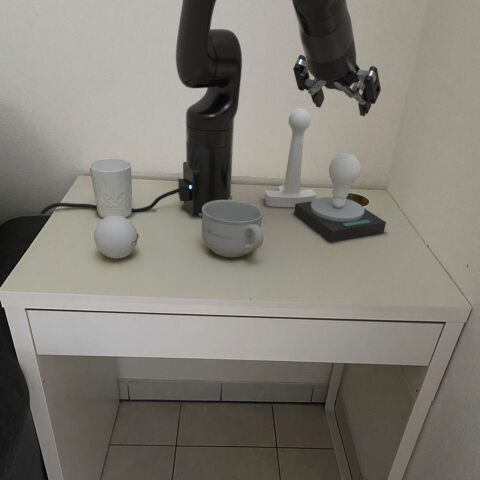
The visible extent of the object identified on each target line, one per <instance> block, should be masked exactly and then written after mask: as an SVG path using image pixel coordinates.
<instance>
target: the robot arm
mask: <svg viewBox="0 0 480 480" xmlns="http://www.w3.org/2000/svg"><path fill="white" fill-rule="evenodd" d="M216 4H217V0H182V3H181V10H180V17H179V24H178V29H177V37H176V44H175V67H176V72H177V76H178V78H179V80H180V82H181V84H182V85H183V86H185V87H186V88H189V89H206V91H205V93H204V95H203V96H202V97H201V98H199V100H197V101H196V102H194V103H193V104H192V105H190V106H189V107H188V108H187V109H186V112H185V153H186V155H185V158H186V161H183V163H182V178H178V179H177V186H178V188H176V189H172V190H170V191H167V192H165V193H163V194H161V195H159V196H157V197H156V198H155V199H154V200H153V201H152V202H151V203H150V204H149V205H147V206H144V207H140V208H139V207H138V208H132V212H131V213H141V212H142V213H143V212H146V211H150V210H151V209H153V208H154V207H155V206H156V205H157V204H158V203H159V202H160V201H161V200H163V199H165V198H167V197H170V196H172V195H176V194H178V197H179V198H178V199H179V202H183V207H184V208H185V209H186V211H187V212H188V213H189V214H190V215H191V217H193V218H196V217H200V218H202V207H203V205H205V204H206V203H208V202H211V201H216V200H233V195H232V175H233V174H232V173H233V172H232V171H233V153H234V152H233V150H234V149H233V148H234V127H235V118H236V115H237V113H238V110H239V102H240V92H241V91H240V90H241V81H242V70H243V55H242V48H241V44H240V41H239V38H238V37H237V34H235V33H234V32H233V31H232V30H230V29H226V28H211V25H212V20H213V15H214V10H215V6H216ZM291 4H292V7H293V11H294V14H295V17H296V18H295V19H296V21H297V25H298V32H299V39H300V43H301V46H302V49H303V53H304V55H303V54H299V55H298V57H297V59H296V61H295V63H294V66H293V68H292V69H293V75H294V76H295V77H294V78H295V82H296V86H297V89H298V90H299V91H301V92H304V91H305V90H306V91H307V94H308V95H310V97H311V100H312V103H313V104H314V105H315V108H319V109H320V108H322V106H323V103H324V101H325V95H324V89H323V87H325V88H326V89H328V90H337V91H339V92H343V93H344V94H345V95H346V96H347V97H348V98H350V99H352V98H353V99H354V100H355V101H356V102H357V104H358V111H359V116H360V117H365V116H366V115H368V114H369V113H370V110H371V107H372V105H375V104H376V102H377V100H378V98H379V96H380V94H381V92H382V87H381V83H380V78H379V77H380V76H379V71H378V68H377V67H376V66H374V65H371V66H370V67H369V68H368V69H367V70H366V69H361V68H360V66H359V65H358V64H357V51H356V44H355V37H354V29H353V24H352V19H351V14H350V12H349V8H348V3H347V0H291ZM310 75H312V77H314V78H313V79H311V78H310ZM351 87H352V88H351ZM360 91H361V93H360ZM59 207H60V208H61V207H63V208H65V207H67V208H86V209H87V208H88V209H92V210H93V209H94V210H97V204H91V203H74V202H73V203H72V202H55V203H52V204H49V205H47V206H45V207H44V208H42V210H41V211H40V212H39V214H40V215H45V214H46V213H47V212H48V211H50V210H51V209H55V208H59Z"/></svg>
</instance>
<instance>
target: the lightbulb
mask: <svg viewBox="0 0 480 480" xmlns="http://www.w3.org/2000/svg"><path fill="white" fill-rule="evenodd" d="M361 169H362V167H361V163H360V161H359V158H357V156H355V154H352V153H350V152H343V153H339V154H337V155H336V156H335V157H334V158H333V159H331V161H330V164H329V166H328V175H329V178H330V181H331V184H332V197H333V202H332V204H333V205H334V206H335V207H336V208H340V207H342V206H344V205H345V201H346V197H347V198H348V196H349V193H350V190H351V188H352V186H353V185H354V183H356V181H357V179H358V178H359V177H360V174H361Z"/></svg>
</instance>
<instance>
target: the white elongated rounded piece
mask: <svg viewBox="0 0 480 480" xmlns="http://www.w3.org/2000/svg"><path fill="white" fill-rule="evenodd" d="M138 239H139V233H138V231H137V228H136V226H135V225H134V224H133V222H132V221H131V220H129V219H128V218H127V217H126V218H125V217H122V216H117V215H112V216H108V217H105V218H103V217H102V219H101V220H100V221H99V222H98V223H97V224H96V226H95V228H94V231H93V240H94V243H95V247H96V248H97V249H98V251H99V252H100V253H101V254H102V255H104V256H106V257H107V258H111V259H123V258H126V257H128V256H129V255H130V254H132V253H133V252H134V251H135V248H136V247H137V245H138Z"/></svg>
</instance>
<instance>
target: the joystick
mask: <svg viewBox="0 0 480 480" xmlns="http://www.w3.org/2000/svg"><path fill="white" fill-rule="evenodd" d="M311 121H312V119H311V115H310V113H309V111H308V110H306V109H305V108H302V107H298V108H295V109H293V110H292V111H291V112H290V114H289V115H288V125H289V127H290V129H291V132H292V133H291V140H290V145H289V152H288V158H287V163H286V170H285V177H284V182H283V184H282V185H279V186H278V187H277V190H270V189H265V190H264V195H263V198H264V199H263V200H265V205H266V206H267V207H273V208H274V207H275V208H295V204H296V203H304V202H311V201H314V200H315V199H317V194H316V192H315V191H314V190H313V189H309V188H308V189H303V190H301V177H302V162H303V150H304V149H303V148H304V135H305V132H306V131H307V130H308V128H309V127H310V126H311Z"/></svg>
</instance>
